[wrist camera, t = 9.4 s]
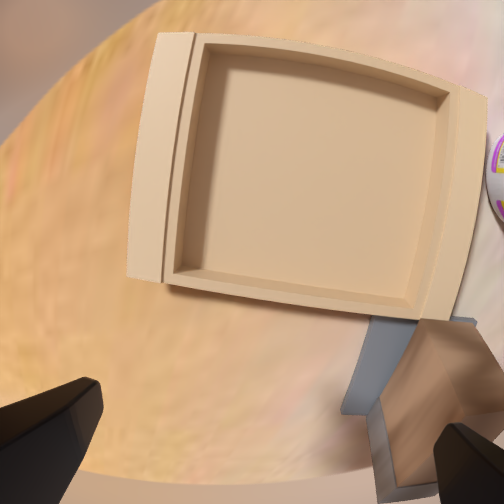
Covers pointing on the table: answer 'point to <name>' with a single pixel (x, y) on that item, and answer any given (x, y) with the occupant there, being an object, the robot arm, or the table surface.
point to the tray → (304, 176)
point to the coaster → (380, 360)
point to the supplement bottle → (496, 176)
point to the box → (432, 405)
